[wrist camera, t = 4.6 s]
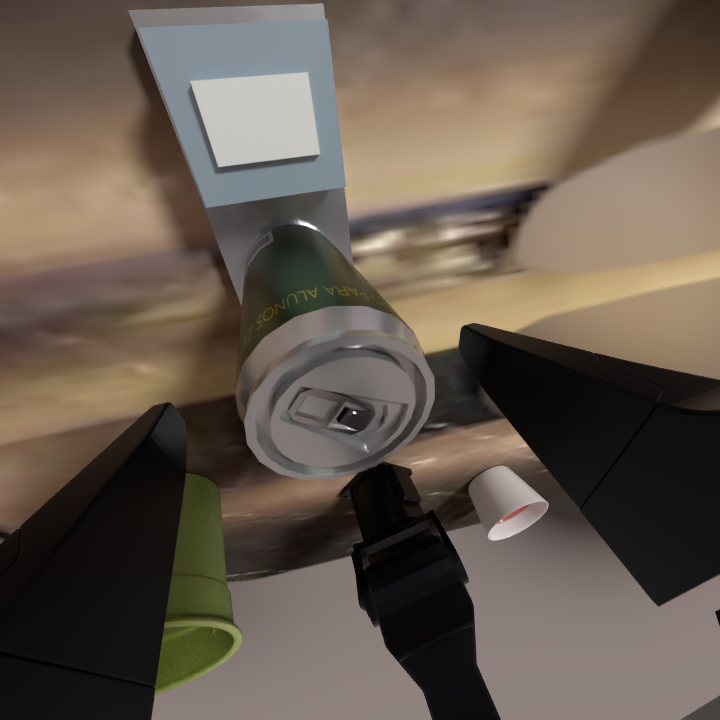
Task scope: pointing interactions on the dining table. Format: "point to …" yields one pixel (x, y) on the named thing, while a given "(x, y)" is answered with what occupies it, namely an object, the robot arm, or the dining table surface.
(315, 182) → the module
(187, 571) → the plant pot
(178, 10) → the rail
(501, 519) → the white tapered cup
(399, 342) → the beer can
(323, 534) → the dining table surface
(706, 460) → the robot arm
